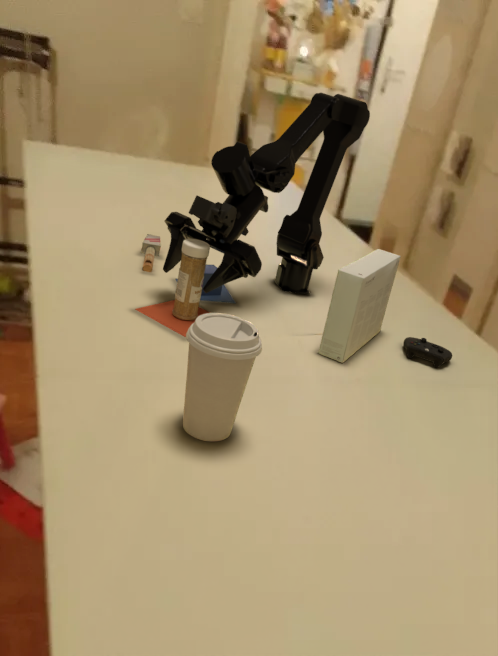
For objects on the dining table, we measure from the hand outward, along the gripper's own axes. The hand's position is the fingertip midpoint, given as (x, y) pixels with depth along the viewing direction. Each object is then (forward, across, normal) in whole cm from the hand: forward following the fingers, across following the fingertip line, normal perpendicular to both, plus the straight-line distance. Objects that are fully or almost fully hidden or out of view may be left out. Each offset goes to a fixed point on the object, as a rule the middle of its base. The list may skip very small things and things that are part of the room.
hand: (184, 281), depth 115 cm
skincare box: (-12, +22, +22) cm, 33 cm away
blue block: (-6, -6, +15) cm, 17 cm away
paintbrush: (-8, -25, +18) cm, 32 cm away
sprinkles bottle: (+4, 0, +6) cm, 7 cm away
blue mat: (-5, -6, +16) cm, 18 cm away
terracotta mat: (+4, 0, +6) cm, 7 cm away
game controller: (-18, +34, +28) cm, 48 cm away
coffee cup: (+21, +26, -10) cm, 35 cm away
